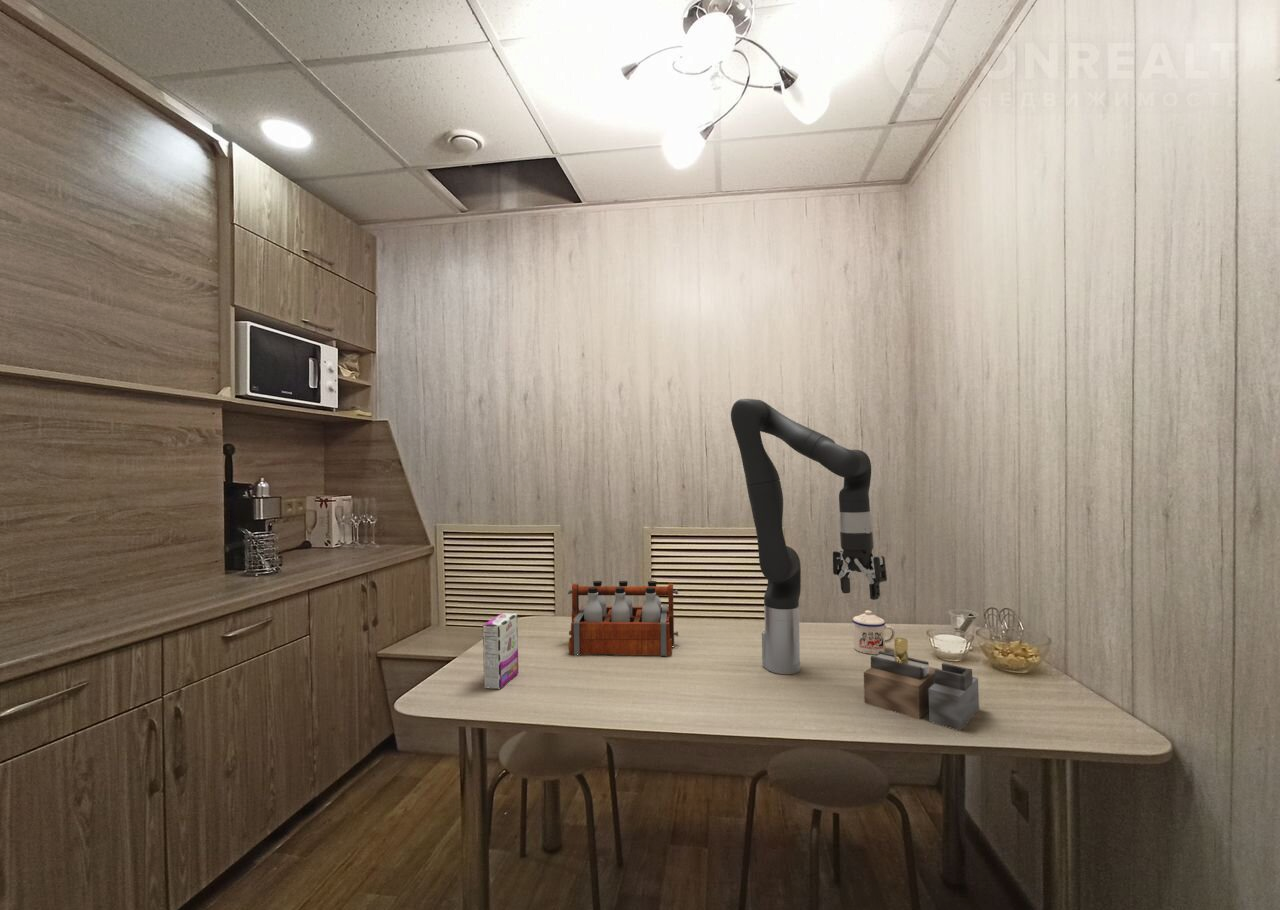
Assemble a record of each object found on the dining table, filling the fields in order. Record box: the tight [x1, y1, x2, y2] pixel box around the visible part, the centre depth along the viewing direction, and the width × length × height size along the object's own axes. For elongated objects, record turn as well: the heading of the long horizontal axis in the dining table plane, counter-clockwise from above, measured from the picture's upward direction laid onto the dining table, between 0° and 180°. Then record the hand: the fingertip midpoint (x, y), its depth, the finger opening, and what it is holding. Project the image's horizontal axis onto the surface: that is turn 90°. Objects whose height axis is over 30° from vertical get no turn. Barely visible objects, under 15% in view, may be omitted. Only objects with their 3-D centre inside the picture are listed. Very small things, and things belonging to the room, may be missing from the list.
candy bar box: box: [482, 612, 519, 689], centre depth 142 cm, size 11×5×16 cm, turn 168°
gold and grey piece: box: [875, 637, 930, 677], centre depth 127 cm, size 11×3×7 cm, turn 45°
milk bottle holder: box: [567, 580, 679, 657], centre depth 170 cm, size 21×35×19 cm, turn 86°
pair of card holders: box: [863, 651, 980, 732], centre depth 124 cm, size 20×14×10 cm
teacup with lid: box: [851, 609, 896, 655], centre depth 162 cm, size 12×9×12 cm
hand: (860, 596), depth 133 cm, fingers open, 8 cm apart
